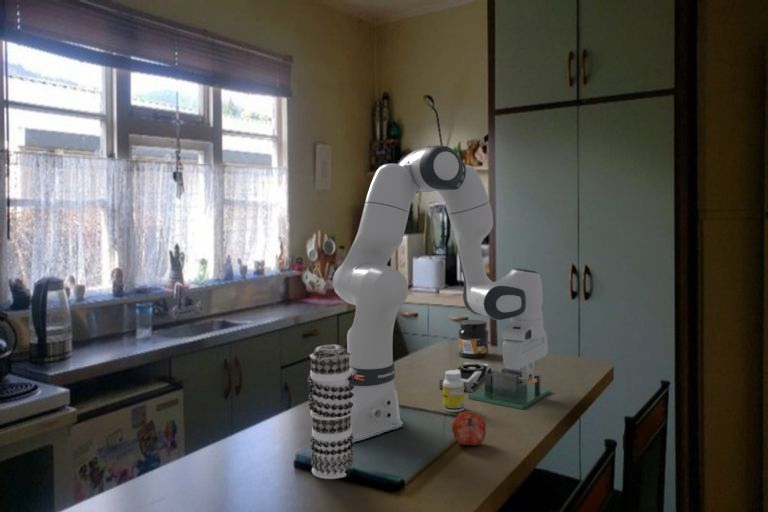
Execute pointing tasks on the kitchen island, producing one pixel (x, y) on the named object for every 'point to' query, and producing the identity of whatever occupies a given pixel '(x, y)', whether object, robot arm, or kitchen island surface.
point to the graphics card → (471, 375)
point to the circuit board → (509, 389)
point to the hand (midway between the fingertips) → (527, 378)
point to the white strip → (531, 380)
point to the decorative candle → (331, 411)
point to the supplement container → (473, 339)
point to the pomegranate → (469, 428)
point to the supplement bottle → (453, 391)
